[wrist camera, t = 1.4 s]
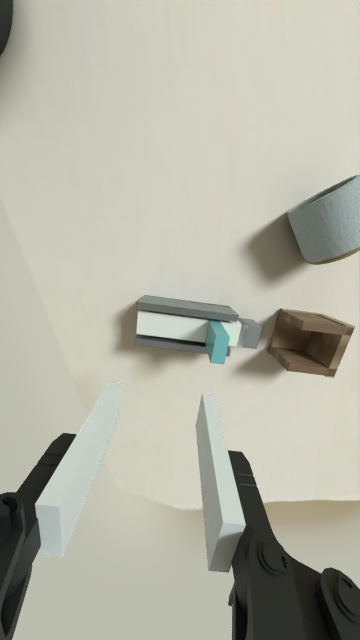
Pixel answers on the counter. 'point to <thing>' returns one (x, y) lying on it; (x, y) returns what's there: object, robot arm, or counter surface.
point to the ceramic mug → (329, 223)
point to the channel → (182, 309)
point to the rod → (201, 331)
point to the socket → (309, 342)
